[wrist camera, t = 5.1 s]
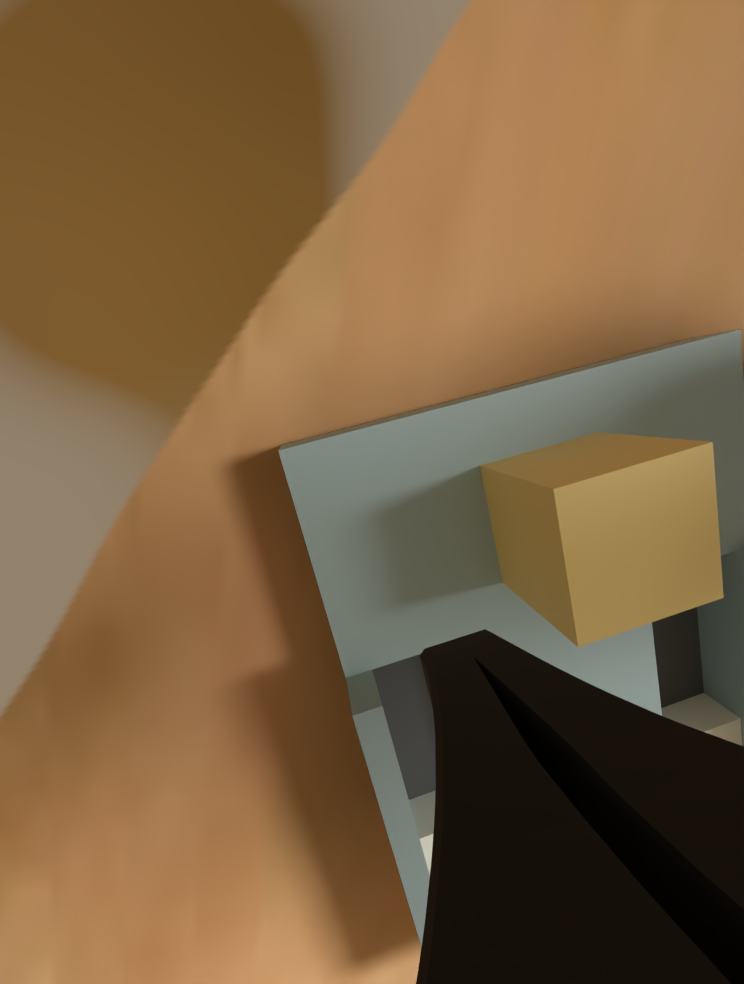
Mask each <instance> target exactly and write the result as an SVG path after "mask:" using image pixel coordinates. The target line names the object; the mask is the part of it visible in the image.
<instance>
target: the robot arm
mask: <svg viewBox="0 0 744 984" xmlns="http://www.w3.org/2000/svg"><path fill="white" fill-rule="evenodd" d="M420 660H421V664H422V668H423V672H424V676H425V680H426V684H427V688H428V692H429V696H430V700H431V704H432V708H433V715H434V726H435V758H436V791H435V816H434V832H433V846H432V859H431V870H430V879H429V888H428V898H427V907H426V916H425V925H424V933H423V941H422V948H421V956H420V963H419V970H418V976H417V982H416V984H744V746H741V745H738V744H736V743H733V742H730V741H727V740H725V739H722V738H719V737H716V736H714V735H711V734H708V733H706V732H703V731H700V730H697V729H695V728H692V727H689V726H686V725H684V724H681V723H679V722H676V721H674V720H671V719H669V718H666V717H664V716H661V715H659V714H656V713H654V712H651V711H649V710H647V709H645V708H642V707H640V706H638V705H635V704H633V703H631V702H629V701H626V700H624V699H622V698H619V697H617V696H615V695H613V694H610V693H608V692H606V691H604V690H602V689H600V688H598V687H595V686H593V685H591V684H589V683H587V682H585V681H583V680H581V679H579V678H577V677H575V676H573V675H571V674H569V673H567V672H565V671H563V670H561V669H559V668H557V667H555V666H553V665H551V664H549V663H547V662H545V661H543V660H541V659H540V658H538V657H536V656H534V655H532V654H530V653H528V652H527V651H525V650H523V649H521V648H519V647H517V646H515V645H514V644H512V643H510V642H508V641H506V640H505V639H503V638H501V637H499V636H497V635H495V634H494V633H492V632H490V631H488V630H486V629H484V630H481V631H478V632H475V633H472V634H469V635H465V636H462V637H459V638H456V639H453V640H450V641H447V642H444V643H441V644H437V645H434V646H431V647H428V648H425V649H424V650H423V651H422V653H421V655H420Z"/></svg>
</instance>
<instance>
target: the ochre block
mask: <svg viewBox="0 0 744 984" xmlns="http://www.w3.org/2000/svg"><path fill="white" fill-rule="evenodd" d="M480 469H481V474H482V479H483V484H484V489H485V494H486V499H487V505H488V510H489V515H490V520H491V525H492V530H493V535H494V540H495V546H496V551H497V556H498V561H499V566H500V571H501V576H502V581H503V583H504V584H505V585H506V586H507V587H508V588H510V589H511V590H512V591H513V592H514V593H515V594H517V595H518V596H519V597H520V598H521V599H522V600H524V601H525V602H526V603H527V604H528V605H529V606H531V607H532V608H533V609H534V610H535V611H536V612H538V613H539V614H540V615H541V616H542V617H543V618H545V619H546V620H547V621H548V622H549V623H550V624H552V625H553V626H554V627H555V628H556V629H557V630H559V631H560V632H561V633H562V634H563V635H564V636H566V637H567V638H568V639H569V640H570V641H571V642H573V643H574V644H575V645H576V646H577V647H581V646H584V645H587V644H590V643H593V642H596V641H599V640H602V639H605V638H607V637H610V636H613V635H616V634H619V633H622V632H625V631H628V630H631V629H634V628H637V627H640V626H643V625H645V624H648V623H651V622H654V621H657V620H660V619H663V618H666V617H669V616H672V615H675V614H678V613H681V612H683V611H686V610H689V609H692V608H695V607H698V606H701V605H704V604H707V603H710V602H713V601H716V600H719V599H721V598H724V594H723V580H722V566H721V552H720V537H719V523H718V509H717V495H716V481H715V466H714V452H713V442H707V441H695V440H684V439H672V438H660V437H648V436H636V435H625V434H613V433H601V432H596V433H593V434H589V435H586V436H582V437H579V438H575V439H572V440H568V441H565V442H561V443H557V444H554V445H550V446H547V447H543V448H540V449H536V450H533V451H529V452H526V453H522V454H519V455H515V456H512V457H508V458H505V459H501V460H498V461H494V462H491V463H487V464H484V465H480Z"/></svg>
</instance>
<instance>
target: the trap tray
mask: <svg viewBox="0 0 744 984" xmlns="http://www.w3.org/2000/svg"><path fill="white" fill-rule="evenodd" d="M596 432H601V433H613V434H625V435H636V436H648V437H660V438H672V439H684V440H695V441H707V442H713V452H714V466H715V481H716V495H717V509H718V523H719V537H720V552H721V566H722V580H723V594H724V598H721V599H719V600H716V601H713V602H710V603H707V604H704V605H701V606H698V607H695V608H692V609H689V610H686V611H683V612H681V613H678V614H675V615H672V616H669V617H666V618H663V619H660V620H657V621H654V622H651V623H648V624H645V625H643V626H640V627H637V628H634V629H631V630H628V631H625V632H622V633H619V634H616V635H613V636H610V637H607V638H605V639H602V640H599V641H596V642H593V643H590V644H587V645H584V646H581V647H577V646H576V645H575V644H574V643H573V642H571V641H570V640H569V639H568V638H567V637H566V636H564V635H563V634H562V633H561V632H560V631H559V630H557V629H556V628H555V627H554V626H553V625H552V624H550V623H549V622H548V621H547V620H546V619H545V618H543V617H542V616H541V615H540V614H539V613H538V612H536V611H535V610H534V609H533V608H532V607H531V606H529V605H528V604H527V603H526V602H525V601H524V600H522V599H521V598H520V597H519V596H518V595H517V594H515V593H514V592H513V591H512V590H511V589H510V588H508V587H507V586H506V585H505V584H504V583H503V581H502V576H501V571H500V566H499V561H498V556H497V551H496V546H495V540H494V535H493V530H492V525H491V520H490V515H489V510H488V505H487V499H486V494H485V489H484V484H483V479H482V474H481V469H480V465H484V464H487V463H491V462H494V461H498V460H501V459H505V458H508V457H512V456H515V455H519V454H522V453H526V452H529V451H533V450H536V449H540V448H543V447H547V446H550V445H554V444H557V443H561V442H565V441H568V440H572V439H575V438H579V437H582V436H586V435H589V434H593V433H596ZM278 452H279V455H280V459H281V462H282V465H283V469H284V472H285V475H286V479H287V482H288V486H289V489H290V492H291V496H292V499H293V502H294V506H295V509H296V513H297V516H298V519H299V523H300V526H301V529H302V533H303V536H304V540H305V543H306V546H307V550H308V553H309V556H310V560H311V563H312V567H313V570H314V573H315V577H316V580H317V583H318V587H319V590H320V594H321V597H322V600H323V604H324V607H325V610H326V614H327V617H328V621H329V624H330V627H331V631H332V634H333V637H334V641H335V644H336V648H337V651H338V654H339V658H340V661H341V664H342V668H343V671H344V675H345V678H346V683H347V689H348V695H349V700H350V706H351V711H352V717H353V720H354V723H355V727H356V730H357V733H358V737H359V740H360V743H361V747H362V750H363V753H364V757H365V760H366V763H367V767H368V770H369V774H370V777H371V780H372V784H373V787H374V790H375V794H376V797H377V800H378V804H379V807H380V810H381V814H382V817H383V820H384V824H385V827H386V830H387V834H388V837H389V840H390V844H391V847H392V850H393V854H394V857H395V860H396V864H397V867H398V870H399V874H400V877H401V880H402V884H403V887H404V891H405V894H406V897H407V901H408V904H409V907H410V911H411V914H412V917H413V921H414V924H415V927H416V931H417V934H418V937H419V941H420V944H421V947H422V941H423V933H424V925H425V916H426V907H427V898H428V888H429V879H430V870H431V859H432V846H433V832H434V816H435V791H436V758H435V726H434V715H433V708H432V704H431V700H430V696H429V692H428V688H427V684H426V680H425V676H424V672H423V668H422V664H421V660H420V655H421V653H422V651H423V650H424V649H425V648H428V647H431V646H434V645H437V644H441V643H444V642H447V641H450V640H453V639H456V638H459V637H462V636H465V635H469V634H472V633H475V632H478V631H481V630H484V629H486V630H488V631H490V632H492V633H494V634H495V635H497V636H499V637H501V638H503V639H505V640H506V641H508V642H510V643H512V644H514V645H515V646H517V647H519V648H521V649H523V650H525V651H527V652H528V653H530V654H532V655H534V656H536V657H538V658H540V659H541V660H543V661H545V662H547V663H549V664H551V665H553V666H555V667H557V668H559V669H561V670H563V671H565V672H567V673H569V674H571V675H573V676H575V677H577V678H579V679H581V680H583V681H585V682H587V683H589V684H591V685H593V686H595V687H598V688H600V689H602V690H604V691H606V692H608V693H610V694H613V695H615V696H617V697H619V698H622V699H624V700H626V701H629V702H631V703H633V704H635V705H638V706H640V707H642V708H645V709H647V710H649V711H651V712H654V713H656V714H659V715H661V716H664V717H666V718H669V719H671V720H674V721H676V722H679V723H681V724H684V725H686V726H689V727H692V728H695V729H697V730H700V731H703V732H706V733H708V734H711V735H714V736H716V737H719V738H722V739H725V740H727V741H730V742H733V743H736V744H738V745H741V746H744V379H743V359H742V338H741V329H739V330H733V331H728V332H722V333H716V334H710V335H705V336H699V337H693V338H689V339H685V340H682V341H678V342H674V343H670V344H666V345H662V346H659V347H655V348H651V349H647V350H643V351H640V352H636V353H632V354H628V355H624V356H620V357H617V358H613V359H609V360H605V361H601V362H597V363H594V364H590V365H586V366H582V367H578V368H574V369H571V370H567V371H563V372H559V373H555V374H551V375H548V376H544V377H540V378H536V379H532V380H529V381H525V382H521V383H517V384H513V385H509V386H506V387H502V388H498V389H494V390H490V391H486V392H483V393H479V394H475V395H471V396H467V397H463V398H460V399H456V400H452V401H448V402H444V403H440V404H437V405H433V406H429V407H425V408H421V409H418V410H414V411H410V412H406V413H402V414H398V415H395V416H391V417H387V418H383V419H379V420H375V421H372V422H368V423H364V424H360V425H356V426H352V427H349V428H345V429H341V430H337V431H333V432H329V433H326V434H322V435H318V436H314V437H310V438H307V439H303V440H299V441H295V442H291V443H287V444H284V445H280V448H279V450H278Z"/></svg>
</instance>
